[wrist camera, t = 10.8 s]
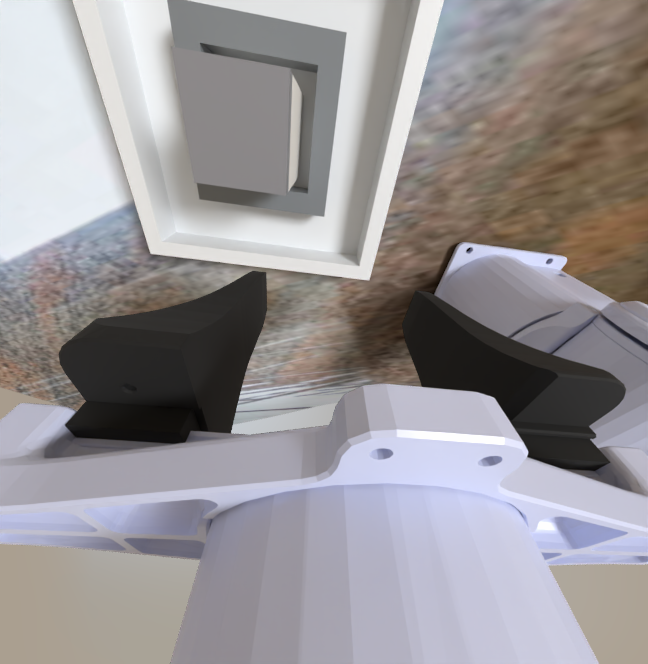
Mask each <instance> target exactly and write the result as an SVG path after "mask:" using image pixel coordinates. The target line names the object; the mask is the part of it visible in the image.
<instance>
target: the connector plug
mask: <svg viewBox="0 0 648 664" xmlns="http://www.w3.org/2000/svg"><path fill="white" fill-rule="evenodd" d="M171 49H172V55H173V61H174V67H175V73H176V79H177V84H178V90H179V96H180V102H181V108H182V114H183V120H184V126H185V132H186V138H187V144H188V150H189V156H190V161H191V167H192V173H193V179H194V183H201V184H208V185H215V186H222V187H229V188H236V189H242V190H249V191H256V192H263V193H270V194H277V195H284V196H286V195H287V193H288V192H289V190H290V189H291V187H292V186H293V184H294V183H295V181H296V180H297V178H298V177H299V161H300V143H301V126H302V108H303V94H302V92H301V90H300V88H299V86H298V84H297V82H296V80H295V78H294V76H293V74H292V72H291V70H290V68H285V67H280V66H274V65H269V64H263V63H258V62H253V61H247V60H242V59H236V58H231V57H226V56H220V55H215V54H209V53H204V52H199V51H193V50H188V49H182V48H177V47H172V46H171Z"/></svg>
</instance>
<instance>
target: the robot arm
mask: <svg viewBox="0 0 648 664" xmlns="http://www.w3.org/2000/svg"><path fill="white" fill-rule="evenodd" d="M469 247H471V249H470V250H469V251H468V252H466V250H467V249H468V248H469ZM548 259H549V260H548ZM547 260H548V261H547ZM546 261H547V262H546ZM566 262H567V258H566V257H564V256H561V255H554V254H547V253H540V252H533V251H525V250H518V249H511V248H504V247H497V246H489V245H482V244H475V243H468V242H462V243H459V244H458V245H457V247H456V248H455V250H454V253H453V255H452V257H451V259H450V261H449V263H448V266H447V268H446V270H445V272H444V274H443V276H442V279H441V281H440V283H439V285H438V287H437V289H436V292H435V294H434V295H433V294H431V293H429V292H424V291H415V293H414V296H413V298H412V301H411V303H410V306H409V308H408V311H407V313H406V316H405V318H404V321H403V323H402V327H403V333H404V337H405V341H406V344H407V347H408V350H409V352H410V355H411V357H412V360H413V363H414V365H415V368H416V370H417V373H418V376H419V379H420V382H421V385H422V387H417V386H406V385H394V384H373V385H363V386H361V387H359V388H357V389H355V390H352V391H350V392H348V393H346V394H345V395H344V396H343V397H342V398H341V400H340V401H339V402H338V404H337V405H336V407H335V410H334V413H333V418H332V420H331V422H330V424H329V425H326V426H318V427H310V428H302V429H293V430H285V431H277V432H269V433H261V434H252V435H245V434H231V430H232V425H233V421H234V417H235V412H236V408H237V404H238V400H239V396H240V392H241V388H242V384H243V380H244V376H245V372H246V369H247V366H248V363H249V360H250V357H251V355H252V352H253V350H254V347H255V345H256V342H257V340H258V337H259V335H260V332H261V330H262V327H263V324H264V320H265V315H266V311H267V288H266V272H258V271H252V272H250V273H248V274H246V275H244V276H243V277H241V278H239V279H237V280H236V281H234V282H232V283H230V284H229V285H227V286H225V287H223V288H221V289H219V290H217V291H215V292H213V293H211V294H208V295H206V296H204V297H201V298H198V299H196V300H193V301H190V302H187V303H183V304H179V305H176V306H172V307H169V308H165V309H160V310H155V311H150V312H145V313H139V314H133V315H125V316H116V317H108V318H98V319H96V320H94V321H93V322H92V323H91V324H89V325H88V326H87V327H86V328H84V329H83V330H82V331H81V332H79V333H78V334H77V335H76V336H74V337H73V338H72V339H71V340H69V341H68V342H67V343H66V344H64V345H63V346H62V348H61V350H60V352H59V359H60V364H61V366H62V368H63V370H64V372H65V373H66V375H67V376H68V377H69V379H70V380H71V381H72V383H73V384H74V385H75V387H76V388H77V389H78V391H79V392H80V393H81V395H82V396H83V397H84V399H85V400H86V402H85V403H84V404H83V405H82V407H81V408H80V409H79V410H78V411H76V410H74V409H72V408H70V407H66V406H59V405H46V404H45V405H44V404H32V403H21V404H18V405H17V406H16V407H15V408H14V409H13V410H12V411H10V412H9V413H8V414H7V415H6V416H5V417H3V418H2V419H1V420H0V544H17V545H18V544H19V545H37V546H52V547H67V548H78V549H91V550H101V551H111V552H122V553H131V554H132V553H133V554H142V555H153V556H162V557H172V558H183V559H192V560H200V563H199V566H198V570H197V573H196V577H195V580H194V583H193V587H192V591H191V594H190V597H189V600H188V604H187V607H186V611H185V614H184V617H183V621H182V624H181V628H180V631H179V634H178V638H177V641H176V645H175V648H174V651H173V655H172V658H171V662H170V664H599V663H598V661H597V659H596V657H595V655H594V653H593V651H592V649H591V647H590V645H589V644H588V642H587V640H586V638H585V636H584V634H583V632H582V630H581V628H580V626H579V624H578V623H577V621H576V619H575V617H574V615H573V613H572V611H571V609H570V607H569V605H568V603H567V601H566V599H565V598H564V596H563V594H562V592H561V590H560V588H559V586H558V584H557V582H556V580H555V578H554V577H553V575H552V573H551V571H550V569H549V567H548V565H576V564H648V305H646V304H644V303H641V302H638V301H630V302H622V303H618V302H616V301H614V300H613V299H611V298H609V297H607V296H606V295H604V294H602V293H600V292H598V291H597V290H595V289H593V288H591V287H590V286H588V285H586V284H584V283H582V282H581V281H579V280H577V279H575V278H573V277H572V276H570V275H568V274H566V273H565V272H563V271H561V269H562V267H563V266H564V265H565V263H566Z"/></svg>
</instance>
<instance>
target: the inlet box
mask: <svg viewBox="0 0 648 664" xmlns="http://www.w3.org/2000/svg"><path fill="white" fill-rule="evenodd" d="M72 1H73V4H74V7H75V11H76V14H77V17H78V20H79V24H80V27H81V30H82V33H83V37H84V40H85V43H86V46H87V50H88V53H89V56H90V59H91V62H92V66H93V69H94V72H95V75H96V79H97V82H98V85H99V88H100V92H101V95H102V98H103V101H104V105H105V108H106V111H107V114H108V117H109V121H110V124H111V127H112V130H113V134H114V137H115V140H116V143H117V147H118V150H119V153H120V156H121V160H122V163H123V166H124V169H125V172H126V176H127V179H128V182H129V185H130V189H131V192H132V195H133V198H134V202H135V205H136V208H137V211H138V215H139V218H140V221H141V224H142V227H143V231H144V234H145V237H146V240H147V244H148V247H149V250H150V253H151V254H157V255H165V256H173V257H181V258H190V259H198V260H206V261H214V262H222V263H231V264H239V265H247V266H255V267H263V268H272V269H280V270H288V271H296V272H304V273H313V274H321V275H329V276H337V277H345V278H354V279H362V280H369V279H370V276H371V272H372V268H373V264H374V261H375V257H376V253H377V249H378V246H379V242H380V238H381V234H382V231H383V227H384V223H385V219H386V216H387V212H388V208H389V204H390V201H391V197H392V193H393V189H394V186H395V182H396V178H397V174H398V171H399V167H400V163H401V159H402V156H403V152H404V148H405V144H406V141H407V137H408V133H409V129H410V126H411V122H412V118H413V114H414V111H415V107H416V103H417V99H418V96H419V92H420V88H421V84H422V81H423V77H424V73H425V69H426V65H427V62H428V58H429V54H430V50H431V47H432V43H433V39H434V35H435V32H436V28H437V24H438V20H439V17H440V13H441V9H442V5H443V2H444V0H72ZM171 46H172V47H177V48H182V49H188V50H193V51H199V52H204V53H209V54H215V55H220V56H226V57H231V58H236V59H242V60H247V61H253V62H258V63H263V64H269V65H274V66H280V67H285V68H290V70H291V72H292V74H293V76H294V78H295V80H296V82H297V84H298V86H299V88H300V90H301V92H302V94H303V108H302V126H301V143H300V161H299V177H298V178H297V180H296V181H295V183H294V184H293V186H292V187H291V189H290V190H289V192H288V193H287V195H286V196H284V195H277V194H270V193H263V192H256V191H249V190H242V189H236V188H229V187H222V186H215V185H208V184H201V183H194V179H193V173H192V167H191V161H190V156H189V150H188V144H187V138H186V132H185V126H184V120H183V114H182V108H181V102H180V96H179V90H178V84H177V79H176V73H175V67H174V61H173V55H172V49H171Z"/></svg>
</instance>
